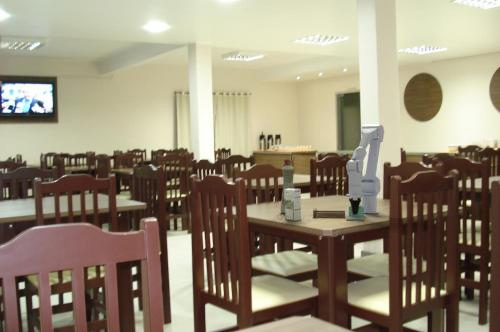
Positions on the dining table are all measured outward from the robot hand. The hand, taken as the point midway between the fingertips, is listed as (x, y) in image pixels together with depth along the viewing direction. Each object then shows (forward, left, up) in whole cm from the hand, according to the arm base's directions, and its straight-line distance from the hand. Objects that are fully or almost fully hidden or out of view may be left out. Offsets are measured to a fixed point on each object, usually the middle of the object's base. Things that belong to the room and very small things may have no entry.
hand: (355, 213), depth 257 cm
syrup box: (+11, -29, -2) cm, 31 cm away
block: (0, +1, -1) cm, 1 cm away
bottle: (-11, -33, -2) cm, 35 cm away
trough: (0, -12, -1) cm, 12 cm away
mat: (+8, 0, -1) cm, 9 cm away
